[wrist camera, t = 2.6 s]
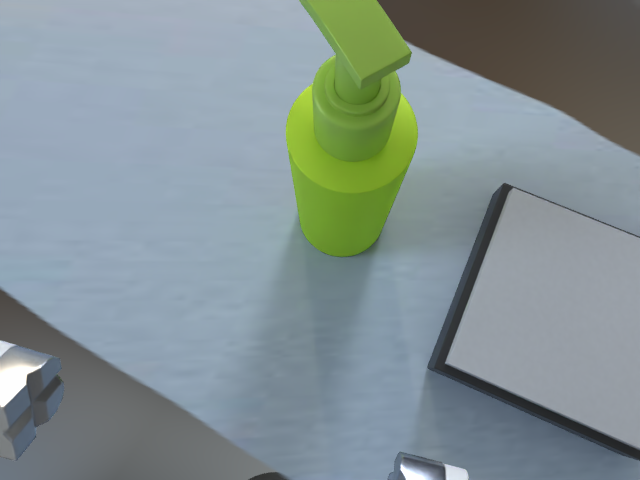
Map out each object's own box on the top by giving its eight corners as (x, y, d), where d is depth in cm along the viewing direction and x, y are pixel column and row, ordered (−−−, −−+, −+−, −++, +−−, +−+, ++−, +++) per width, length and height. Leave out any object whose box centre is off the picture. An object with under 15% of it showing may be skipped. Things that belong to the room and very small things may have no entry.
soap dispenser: (347, 150, 36) (374, -99, 17) (400, 229, 35) (496, 57, 15) (276, 190, 36) (220, -21, 16) (327, 272, 34) (332, 149, 15)
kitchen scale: (623, 456, 31) (654, 465, 28) (426, 367, 33) (436, 368, 30) (676, 266, 34) (709, 257, 31) (493, 193, 35) (508, 177, 33)
